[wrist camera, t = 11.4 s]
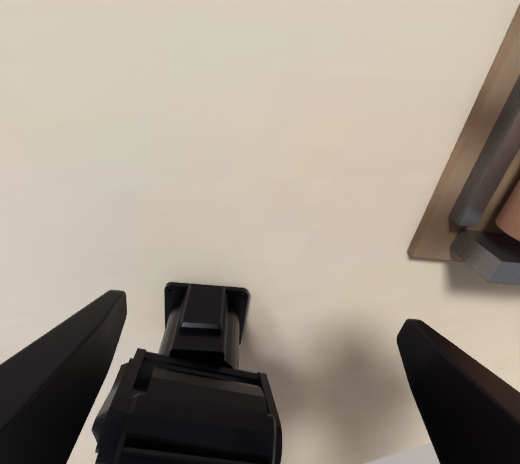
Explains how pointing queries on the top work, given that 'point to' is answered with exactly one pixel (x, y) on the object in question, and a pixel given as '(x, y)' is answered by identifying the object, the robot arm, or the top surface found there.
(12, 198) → the top surface
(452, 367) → the robot arm
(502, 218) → the roll
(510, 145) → the roll cradle
